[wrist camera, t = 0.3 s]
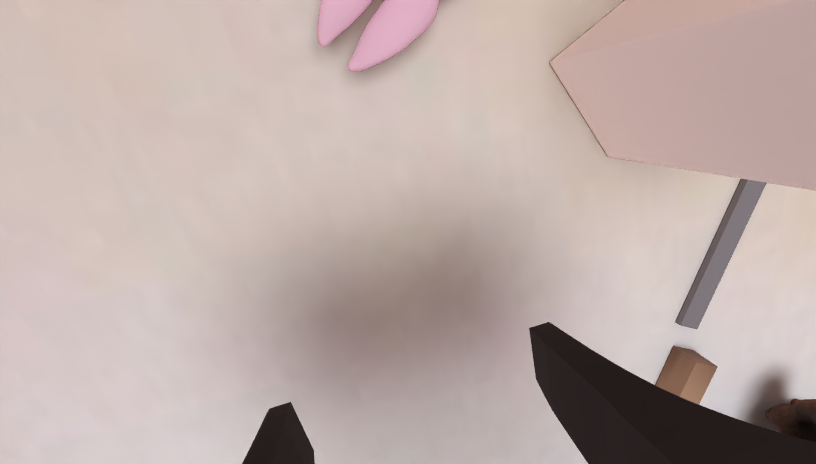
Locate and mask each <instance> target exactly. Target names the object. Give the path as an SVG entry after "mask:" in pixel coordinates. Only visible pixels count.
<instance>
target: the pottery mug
mask: <svg viewBox="0 0 816 464" xmlns="http://www.w3.org/2000/svg"><path fill="white" fill-rule="evenodd" d="M791 403H792V405H787V404H780V405H777V406H775V407H773V408H770V409H769V410H767V411H766V412H765V415H766V417H767V418H768V419H769V420H770V421H771V423H772V424H773V425H774V426H775V428H776V430H777V431H778V432H779V433H782V434H785V435H788V436H792V437H796V438H799V439H803V440H807V441H811V442H815V443H816V399H811V400H810V399H808V400H807V399H805V400H797V399H794V400H792V402H791Z"/></svg>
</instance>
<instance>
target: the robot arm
mask: <svg viewBox="0 0 816 464" xmlns="http://www.w3.org/2000/svg"><path fill="white" fill-rule="evenodd" d="M529 329H530V337H531V344H532V352H533V359H534V367H535V374H536V380H537V382H538V384H539V386H540V388H541V390H542V392H543V394H544V396H545V397H546V399H547V401H548V403H549V405H550V407H551V409H552V411H553V412H554V414H555V415H556V417H557V418H558V420H559V421H560V423H561V424H562V426H563V427H564V429H565V430H566V431H567V433H568V434H569V436H570V437H571V439H572V440H573V442H574V443H575V445H576V446H577V448H578V449H579V451H580V452H581V454H582V455H583V457H584V458H585V459H586V461H587V462H588V464H816V443H815V442H811V441H807V440H803V439H799V438H796V437H792V436H788V435H785V434H782V433H778V432H775V431H772V430H769V429H766V428H762V427H759V426H756V425H753V424H750V423H747V422H744V421H741V420H738V419H735V418H732V417H729V416H727V415H724V414H722V413H719V412H716V411H714V410H711V409H708V408H706V407H703V406H701V405H698V404H696V403H693V402H691V401H688V400H686V399H684V398H681V397H679V396H677V395H675V394H673V393H670V392H668V391H666V390H664V389H662V388H659V387H657V386H655V385H653V384H651V383H649V382H647V381H645V380H643V379H642V378H640V377H638V376H636V375H634V374H632V373H630V372H629V371H627V370H625V369H623V368H621V367H620V366H618V365H616V364H614V363H613V362H611V361H609V360H608V359H606V358H604V357H603V356H601V355H599V354H598V353H596V352H594V351H593V350H591V349H590V348H588V347H586V346H585V345H583V344H582V343H580V342H579V341H577V340H576V339H574V338H573V337H571V336H570V335H568V334H567V333H565V332H564V331H562V330H560V329H559V328H557V327H556V326H554V325H553V324H551V323H549V322H547V323H544V324H541V325H538V326H535V327H531V328H529ZM242 464H315V462H314V450H313V448H312V446H311V444H310V442H309V439H308V437H307V435H306V433H305V431H304V429H303V427H302V425H301V423H300V421H299V419H298V416H297V414H296V412H295V410H294V408H293V406H292V404H291V402H289V403H286V404H283V405H280V406H276V407H273V408H270V409H269V411H268V412H267V414H266V416H265V418H264V420H263V422H262V425H261V427H260V429H259V431H258V433H257V435H256V437H255V439H254V441H253V443H252V445H251V447H250V449H249V451H248V453H247V455H246V457H245V459H244V461H243V463H242Z"/></svg>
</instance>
